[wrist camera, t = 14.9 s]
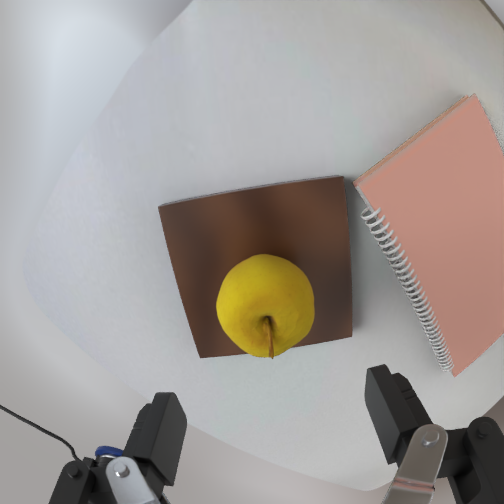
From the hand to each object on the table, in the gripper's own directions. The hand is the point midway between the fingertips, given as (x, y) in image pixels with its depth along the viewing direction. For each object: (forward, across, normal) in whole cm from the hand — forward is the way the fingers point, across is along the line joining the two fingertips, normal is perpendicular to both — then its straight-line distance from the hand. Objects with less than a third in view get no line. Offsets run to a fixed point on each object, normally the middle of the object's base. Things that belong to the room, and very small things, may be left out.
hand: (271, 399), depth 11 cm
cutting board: (+14, 0, 0) cm, 14 cm away
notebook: (+14, -21, +2) cm, 25 cm away
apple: (+13, 0, 0) cm, 13 cm away
